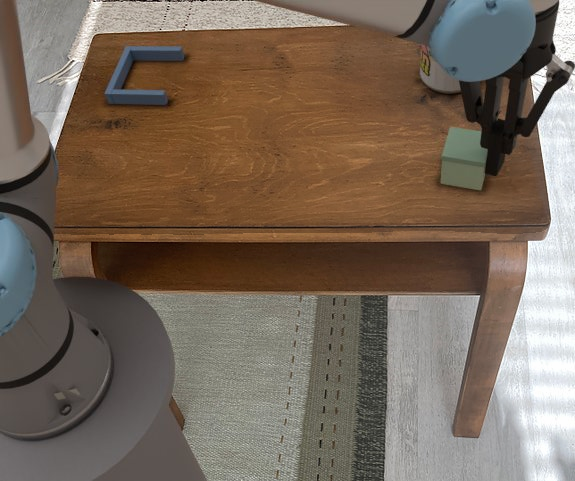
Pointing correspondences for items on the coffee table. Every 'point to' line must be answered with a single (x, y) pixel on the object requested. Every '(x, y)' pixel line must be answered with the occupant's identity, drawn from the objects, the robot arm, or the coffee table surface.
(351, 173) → the coffee table surface
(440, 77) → the beverage can
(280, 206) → the coffee table surface
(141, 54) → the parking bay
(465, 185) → the toy box
